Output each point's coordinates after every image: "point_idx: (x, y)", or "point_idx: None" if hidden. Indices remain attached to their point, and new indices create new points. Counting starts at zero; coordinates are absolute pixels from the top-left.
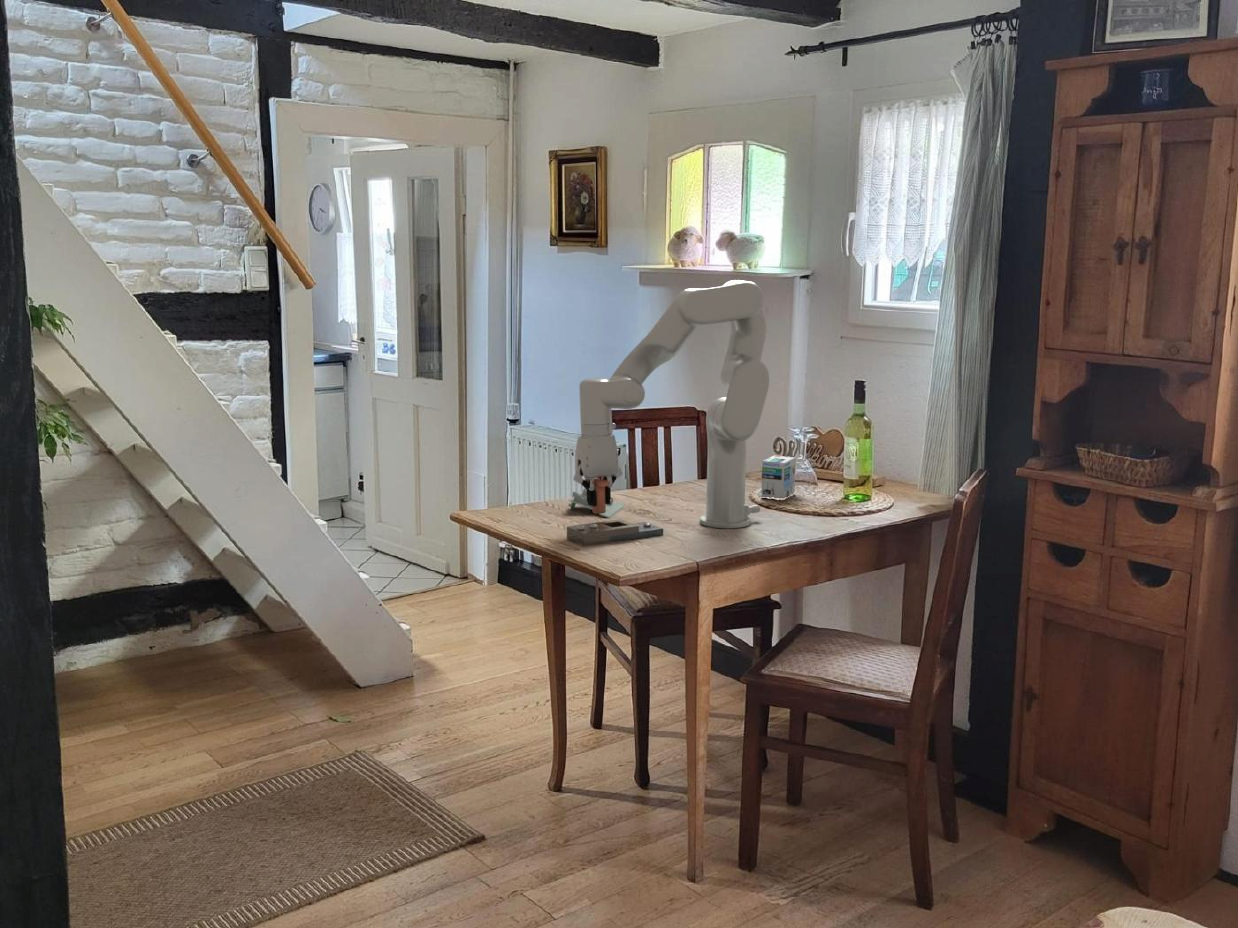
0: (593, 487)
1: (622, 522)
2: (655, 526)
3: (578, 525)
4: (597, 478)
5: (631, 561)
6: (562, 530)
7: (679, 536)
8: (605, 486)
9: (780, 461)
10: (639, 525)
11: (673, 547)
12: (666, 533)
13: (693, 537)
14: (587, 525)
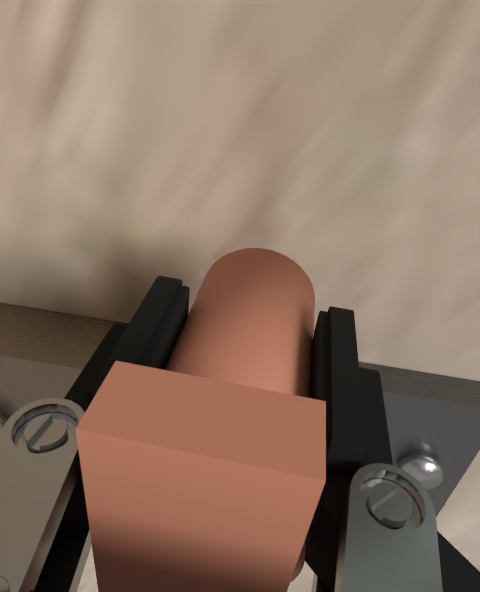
0: (84, 537)
1: None
2: (442, 488)
3: (7, 364)
4: (258, 567)
5: (85, 574)
6: (19, 121)
7: (449, 535)
8: (307, 534)
9: None
10: (399, 438)
11: (297, 577)
12: (458, 490)
13: (474, 564)
14: (56, 393)
